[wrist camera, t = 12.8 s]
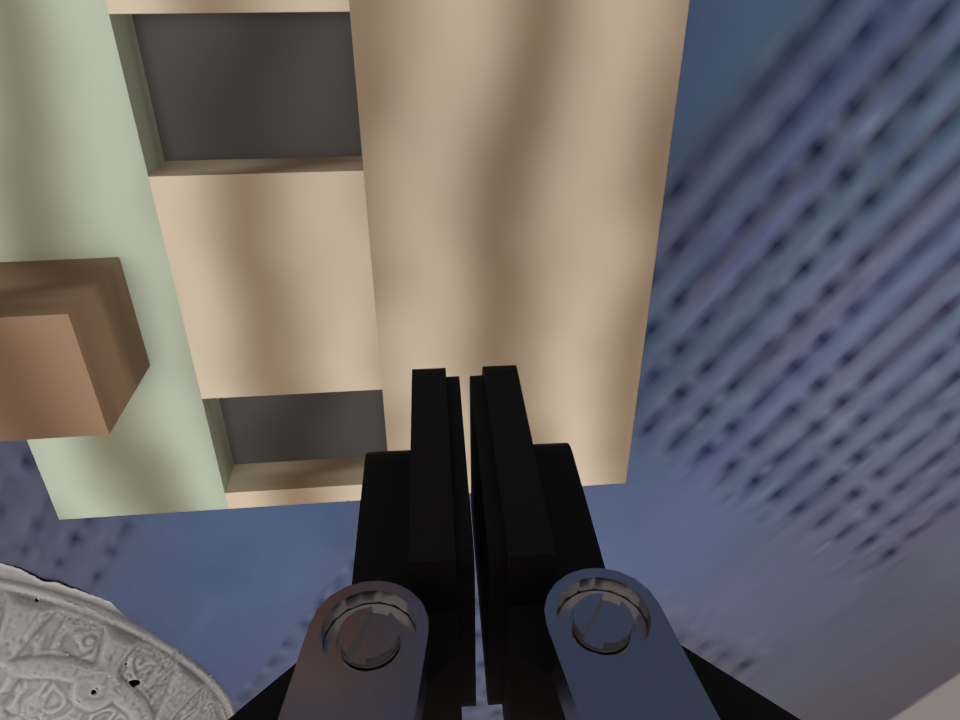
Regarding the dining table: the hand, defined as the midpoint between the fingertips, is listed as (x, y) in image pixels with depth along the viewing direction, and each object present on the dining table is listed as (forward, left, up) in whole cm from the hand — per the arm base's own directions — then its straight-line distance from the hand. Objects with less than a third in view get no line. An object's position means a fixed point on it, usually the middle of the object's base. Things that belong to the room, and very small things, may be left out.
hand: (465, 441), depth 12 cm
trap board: (+5, +5, -21) cm, 22 cm away
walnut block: (+15, +6, -18) cm, 24 cm away
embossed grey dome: (+24, +32, -21) cm, 45 cm away
